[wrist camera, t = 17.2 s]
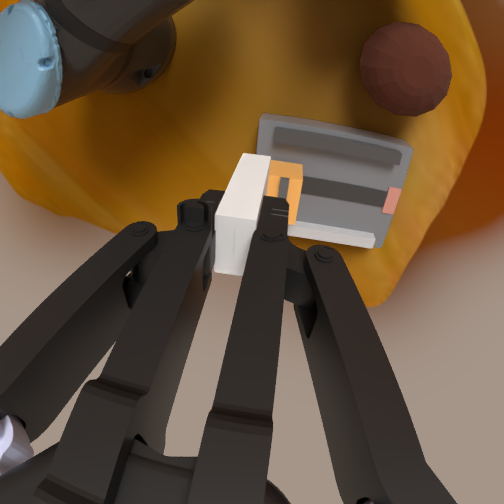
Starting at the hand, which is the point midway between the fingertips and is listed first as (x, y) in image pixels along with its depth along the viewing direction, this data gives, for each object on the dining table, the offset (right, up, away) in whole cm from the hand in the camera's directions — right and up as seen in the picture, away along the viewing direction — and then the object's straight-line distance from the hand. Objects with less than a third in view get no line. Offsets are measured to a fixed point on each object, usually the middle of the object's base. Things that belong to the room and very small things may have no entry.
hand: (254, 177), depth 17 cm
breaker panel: (+11, +7, +26) cm, 29 cm away
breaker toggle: (+4, +5, +23) cm, 24 cm away
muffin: (+18, +20, +15) cm, 31 cm away
